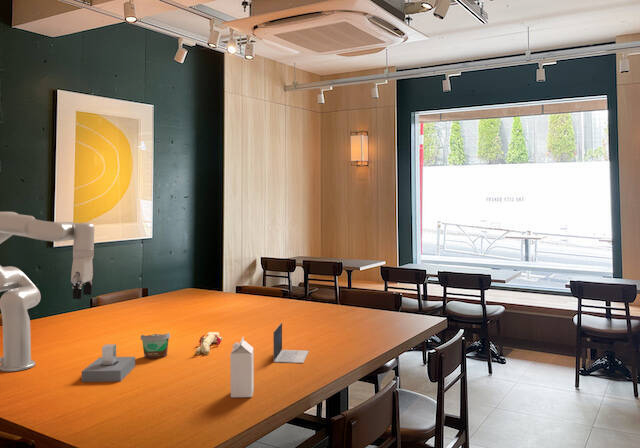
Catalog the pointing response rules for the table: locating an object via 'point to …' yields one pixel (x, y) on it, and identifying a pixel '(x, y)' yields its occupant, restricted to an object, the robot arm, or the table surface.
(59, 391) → the table surface
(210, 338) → the beige piece
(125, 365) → the block
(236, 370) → the milk carton
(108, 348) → the steel pin
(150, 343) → the food container
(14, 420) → the table surface
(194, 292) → the table surface
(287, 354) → the laptop
